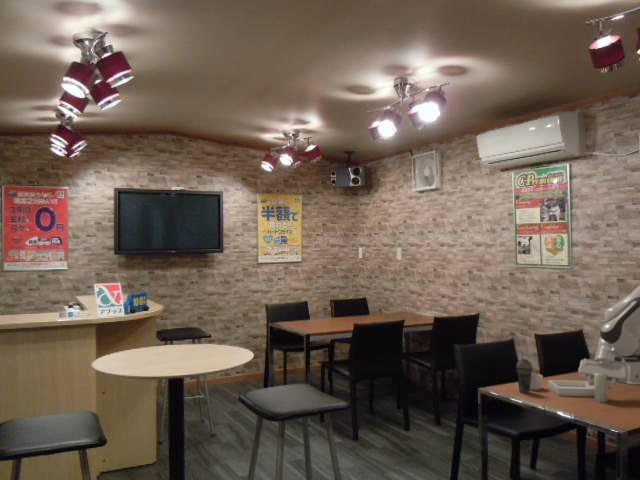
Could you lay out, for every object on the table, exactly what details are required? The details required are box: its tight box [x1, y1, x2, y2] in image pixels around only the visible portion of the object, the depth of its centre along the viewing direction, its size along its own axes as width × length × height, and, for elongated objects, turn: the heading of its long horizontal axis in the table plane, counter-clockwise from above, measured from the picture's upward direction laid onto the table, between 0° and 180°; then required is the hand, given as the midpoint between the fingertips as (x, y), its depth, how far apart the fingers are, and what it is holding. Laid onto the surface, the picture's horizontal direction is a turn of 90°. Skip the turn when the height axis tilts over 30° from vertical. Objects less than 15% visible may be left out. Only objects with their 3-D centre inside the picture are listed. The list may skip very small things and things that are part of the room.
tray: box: [547, 379, 594, 398], centre depth 262 cm, size 18×16×4 cm
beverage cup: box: [516, 349, 533, 394], centre depth 262 cm, size 7×7×20 cm
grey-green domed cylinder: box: [593, 373, 608, 403], centre depth 246 cm, size 5×5×12 cm
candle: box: [530, 372, 544, 391], centre depth 269 cm, size 9×9×6 cm
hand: (600, 386), depth 246 cm, fingers open, 6 cm apart
